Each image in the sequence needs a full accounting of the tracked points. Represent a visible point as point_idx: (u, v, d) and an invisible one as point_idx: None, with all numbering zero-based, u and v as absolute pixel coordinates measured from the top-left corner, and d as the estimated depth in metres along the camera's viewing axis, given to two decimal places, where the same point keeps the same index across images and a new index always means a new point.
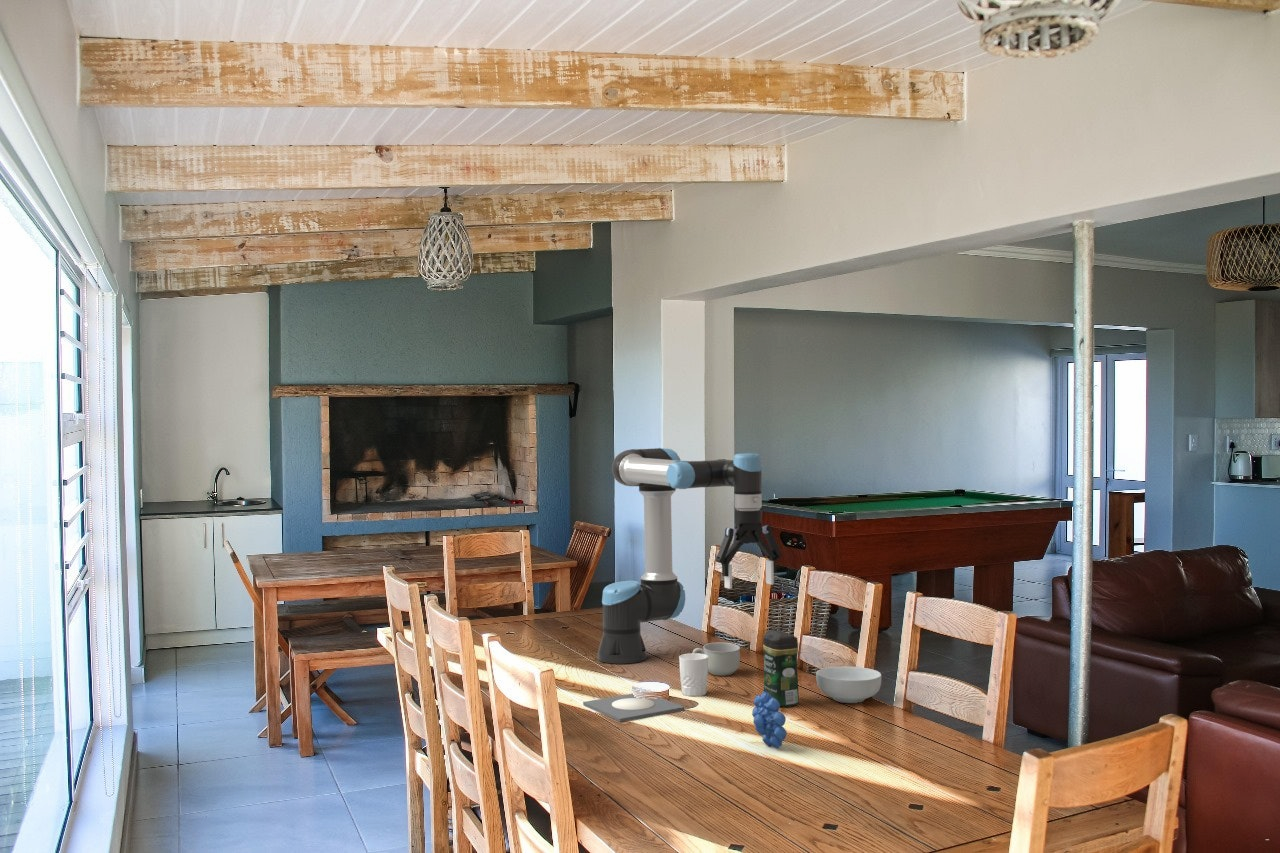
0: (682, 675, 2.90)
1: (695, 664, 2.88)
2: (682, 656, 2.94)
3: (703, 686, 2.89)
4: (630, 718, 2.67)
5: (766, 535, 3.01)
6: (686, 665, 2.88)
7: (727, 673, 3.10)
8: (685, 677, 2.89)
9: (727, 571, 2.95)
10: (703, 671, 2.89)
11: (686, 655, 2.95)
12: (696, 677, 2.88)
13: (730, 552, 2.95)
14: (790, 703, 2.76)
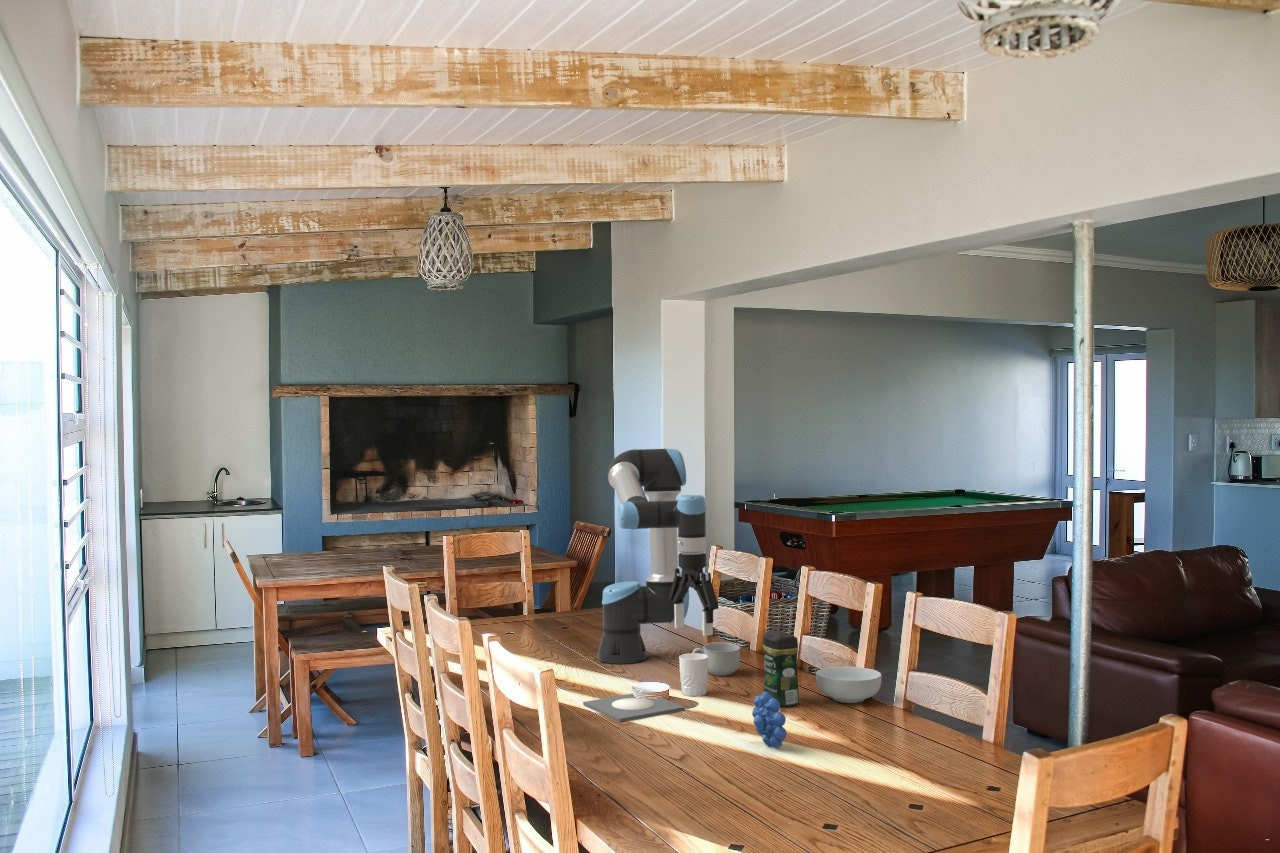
0: (682, 675, 2.90)
1: (695, 664, 2.88)
2: (682, 656, 2.94)
3: (703, 686, 2.89)
4: (630, 718, 2.67)
5: None
6: (686, 665, 2.88)
7: (727, 673, 3.10)
8: (685, 677, 2.89)
9: None
10: (703, 671, 2.89)
11: (686, 655, 2.95)
12: (696, 677, 2.88)
13: None
14: (790, 703, 2.76)
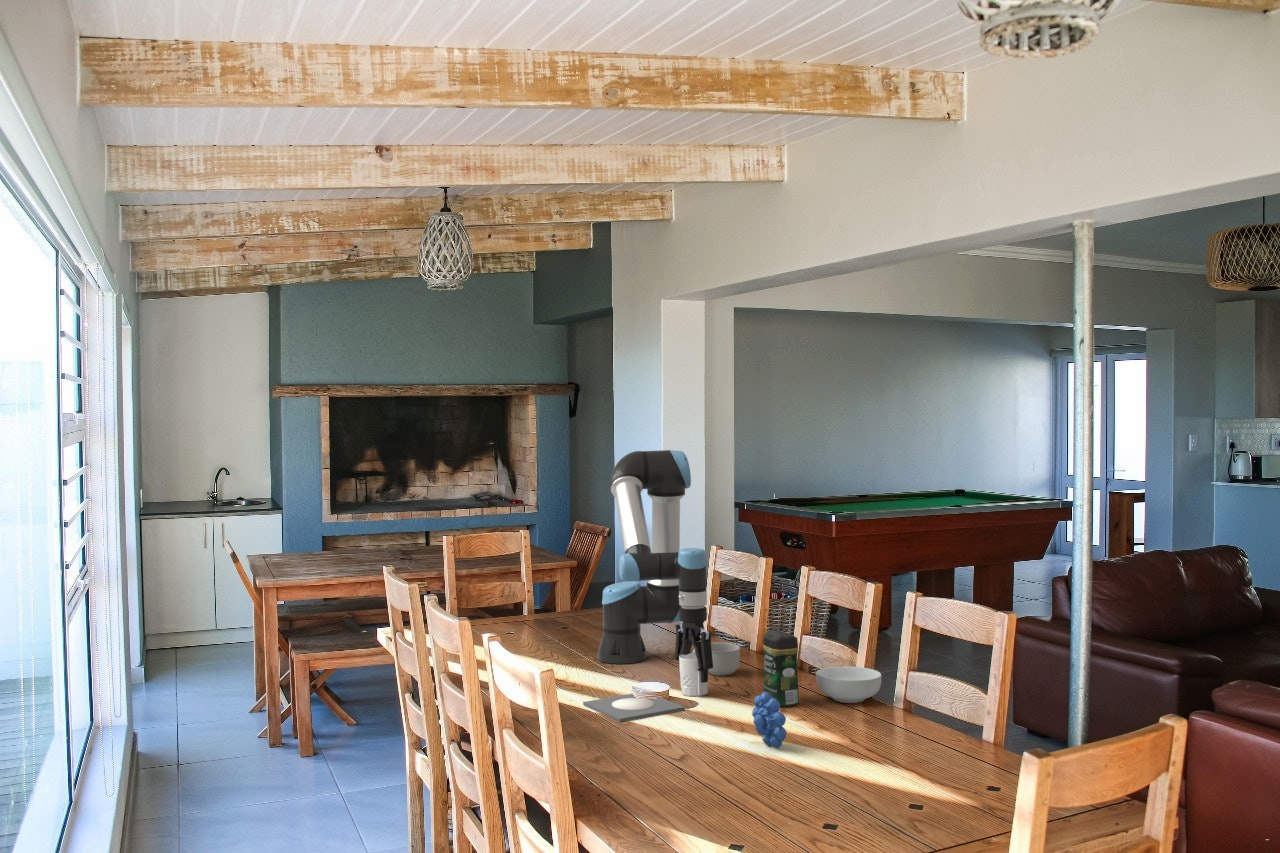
0: (682, 675, 2.90)
1: (695, 664, 2.88)
2: (682, 656, 2.94)
3: None
4: (630, 718, 2.67)
5: None
6: (686, 665, 2.88)
7: (727, 673, 3.10)
8: (685, 677, 2.89)
9: None
10: None
11: (686, 655, 2.95)
12: (695, 677, 2.88)
13: None
14: (790, 703, 2.76)
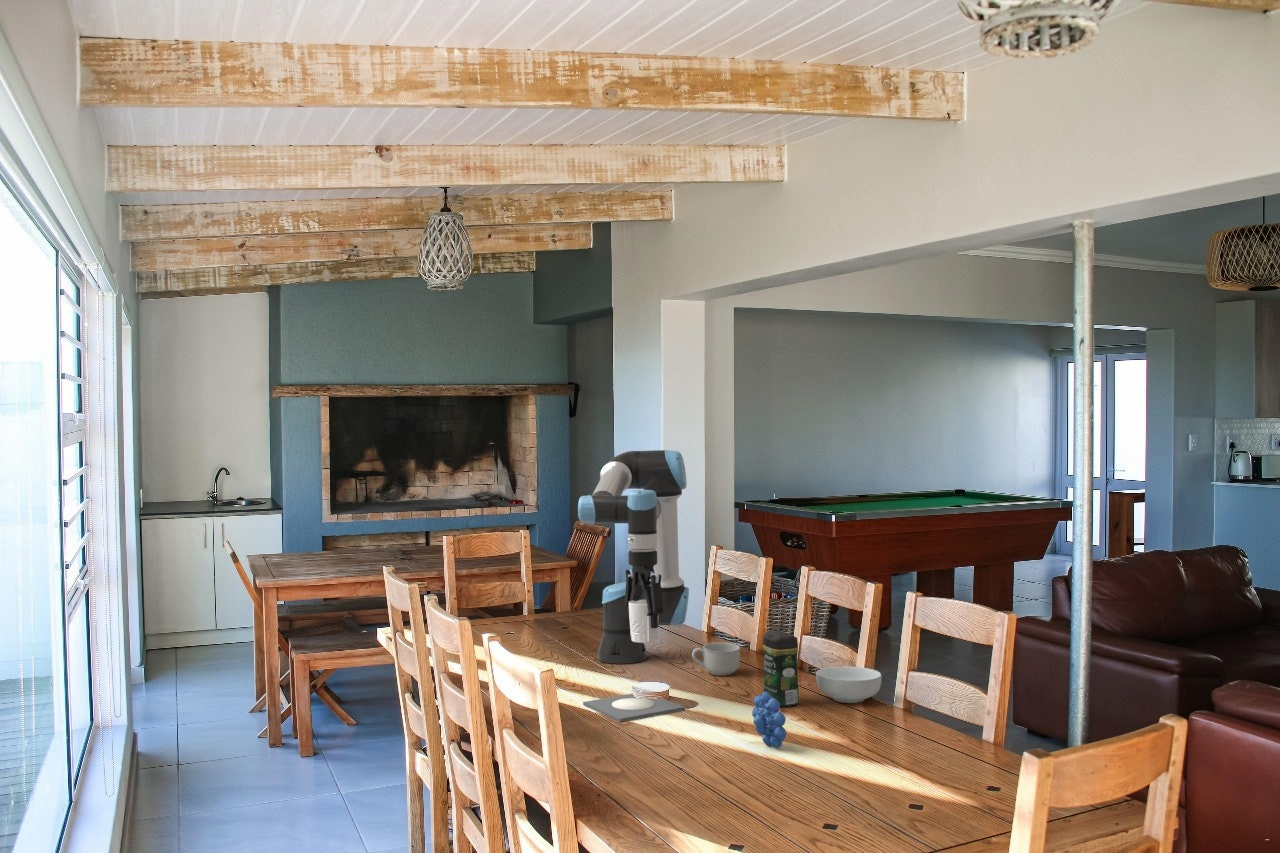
0: (631, 621, 2.78)
1: (645, 609, 2.76)
2: (632, 602, 2.82)
3: None
4: (630, 718, 2.67)
5: None
6: (635, 610, 2.77)
7: (727, 673, 3.10)
8: (635, 623, 2.77)
9: None
10: None
11: (636, 601, 2.83)
12: (645, 623, 2.76)
13: None
14: (790, 703, 2.76)
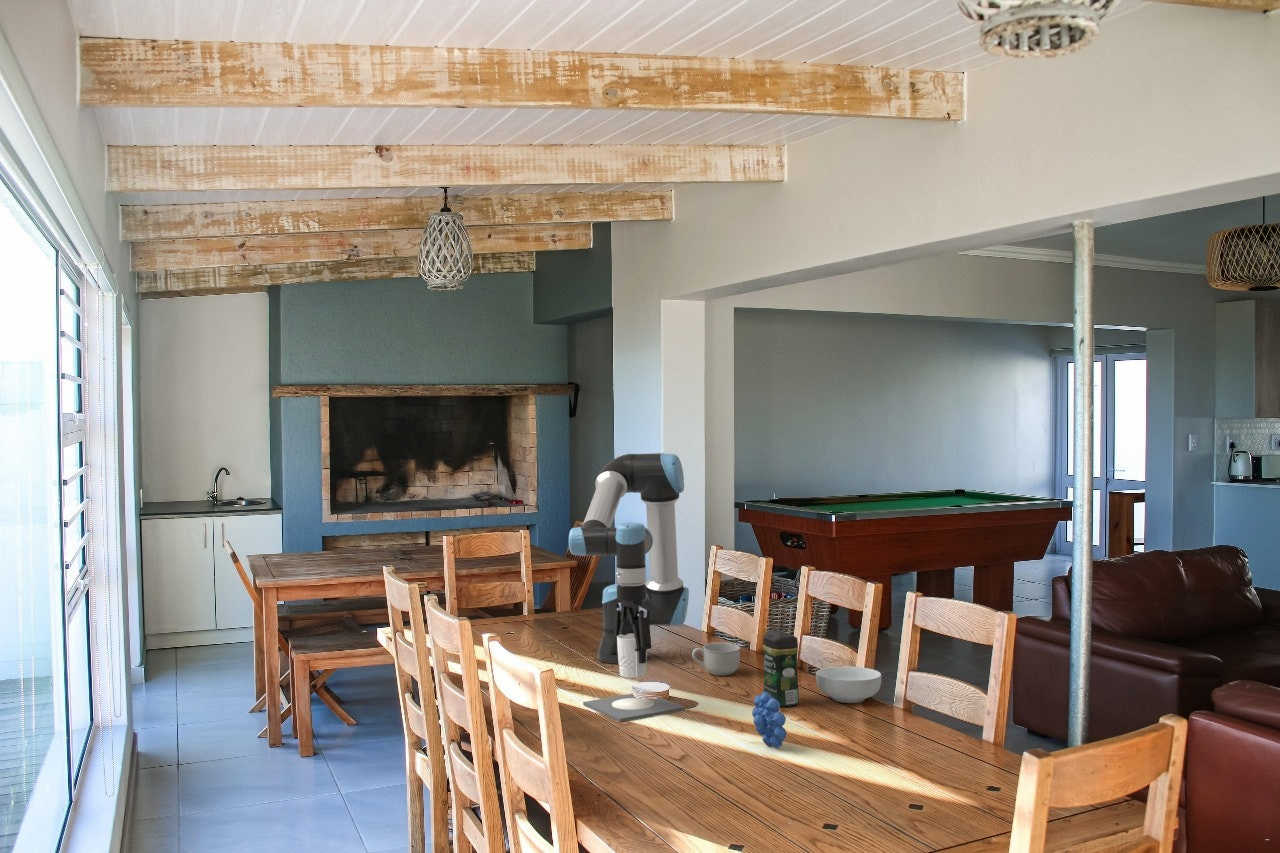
0: (620, 656, 2.76)
1: (633, 644, 2.74)
2: (621, 636, 2.80)
3: None
4: (630, 718, 2.67)
5: None
6: (623, 645, 2.75)
7: (727, 673, 3.10)
8: (623, 658, 2.75)
9: None
10: None
11: (625, 635, 2.81)
12: (633, 658, 2.74)
13: None
14: (790, 703, 2.76)
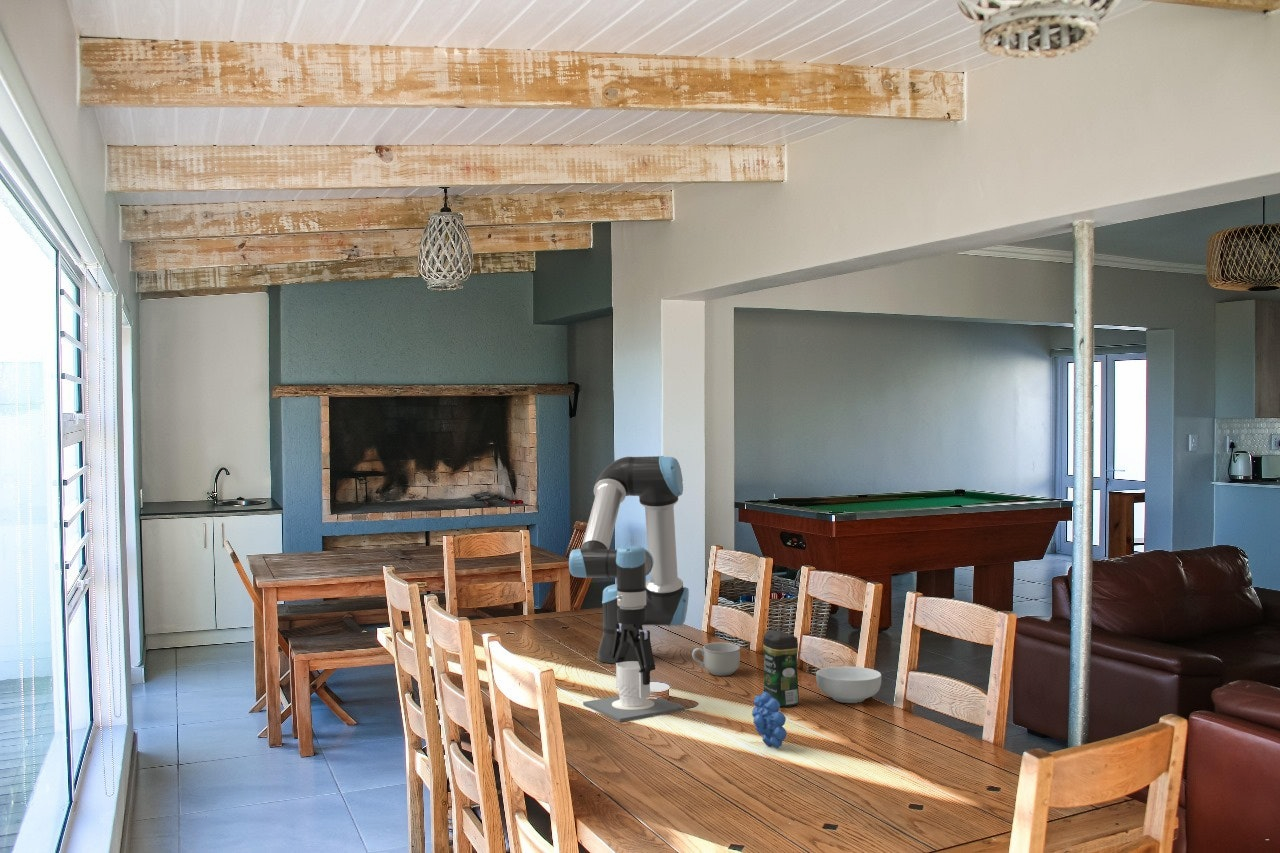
0: (619, 684, 2.76)
1: (632, 673, 2.74)
2: (620, 664, 2.80)
3: None
4: (630, 718, 2.67)
5: None
6: (623, 674, 2.75)
7: (727, 673, 3.10)
8: (623, 687, 2.75)
9: None
10: None
11: (625, 663, 2.81)
12: (633, 687, 2.74)
13: None
14: (790, 703, 2.76)
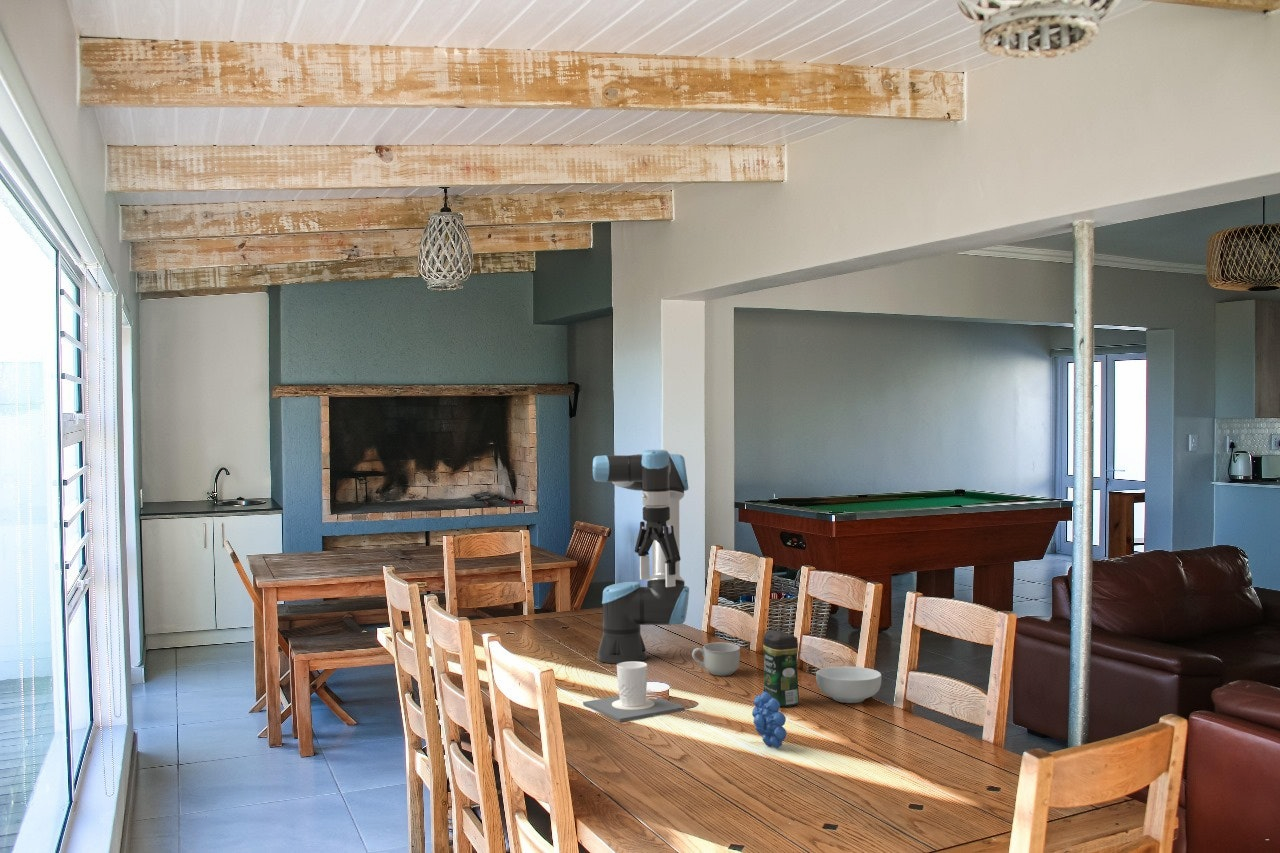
0: (619, 684, 2.76)
1: (632, 673, 2.74)
2: (621, 664, 2.80)
3: (641, 696, 2.76)
4: (630, 718, 2.67)
5: None
6: (623, 674, 2.75)
7: (727, 673, 3.10)
8: (622, 686, 2.76)
9: None
10: (641, 680, 2.75)
11: (625, 663, 2.81)
12: (633, 687, 2.75)
13: None
14: (790, 703, 2.76)
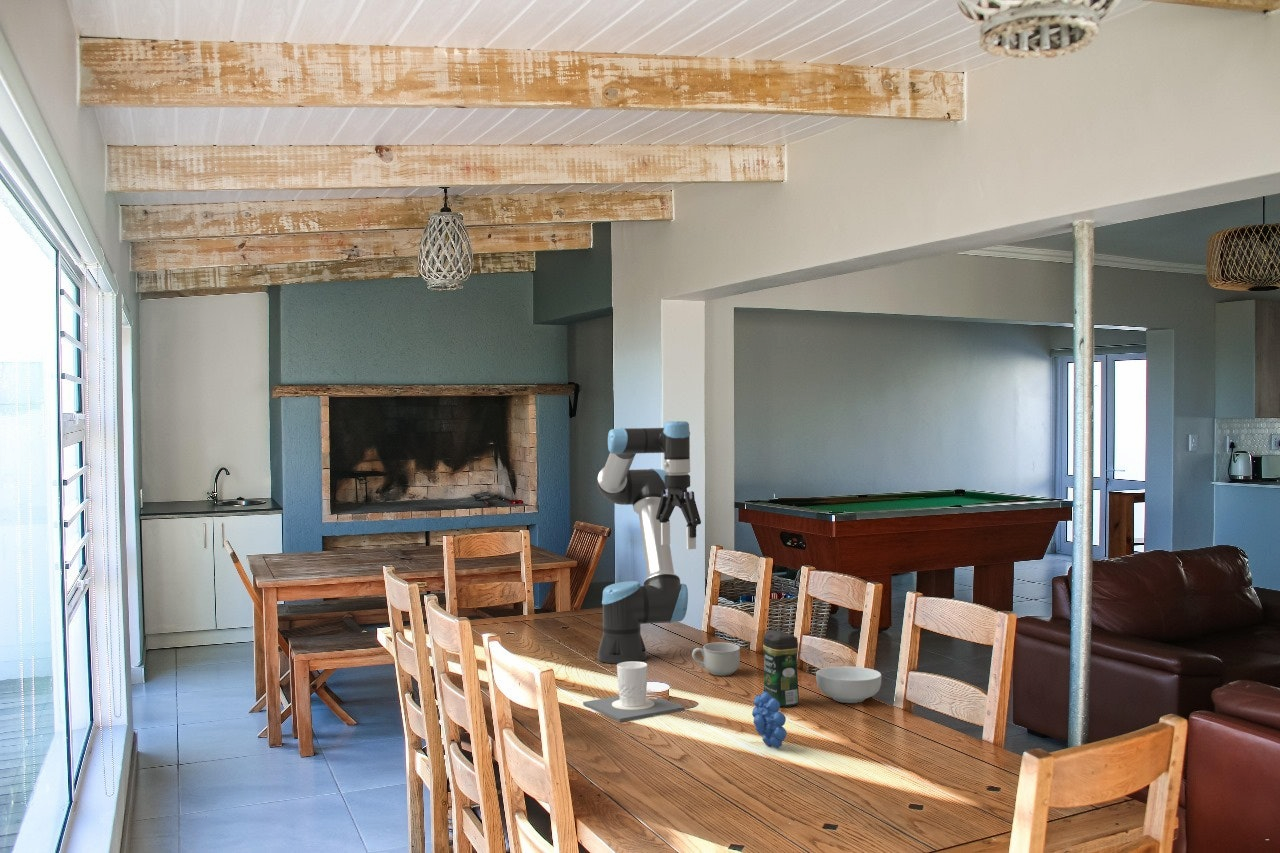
0: (619, 684, 2.76)
1: (632, 673, 2.74)
2: (621, 664, 2.80)
3: (641, 696, 2.76)
4: (630, 718, 2.67)
5: None
6: (623, 674, 2.75)
7: (727, 673, 3.10)
8: (623, 686, 2.76)
9: None
10: (641, 680, 2.75)
11: (625, 663, 2.81)
12: (633, 687, 2.75)
13: None
14: (790, 703, 2.76)
